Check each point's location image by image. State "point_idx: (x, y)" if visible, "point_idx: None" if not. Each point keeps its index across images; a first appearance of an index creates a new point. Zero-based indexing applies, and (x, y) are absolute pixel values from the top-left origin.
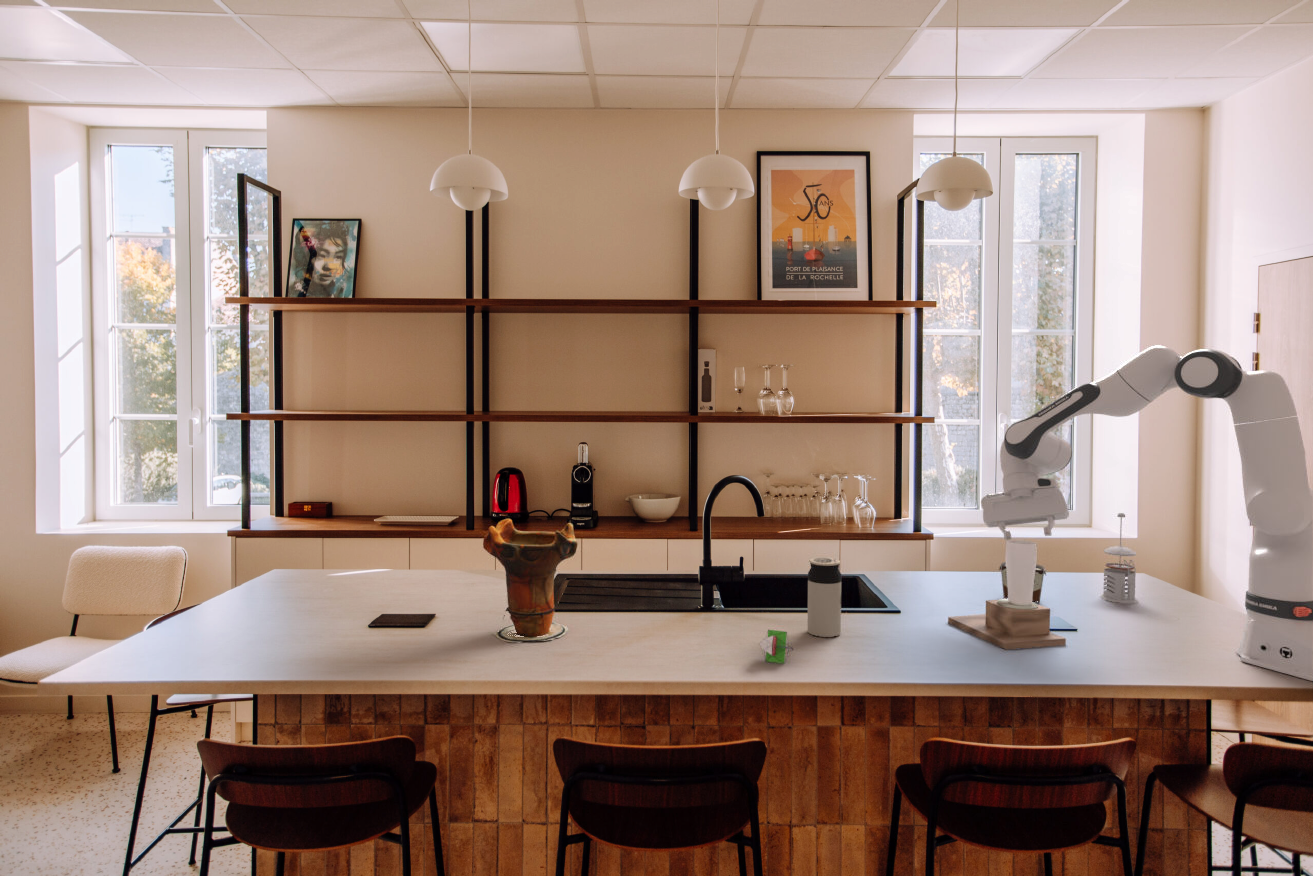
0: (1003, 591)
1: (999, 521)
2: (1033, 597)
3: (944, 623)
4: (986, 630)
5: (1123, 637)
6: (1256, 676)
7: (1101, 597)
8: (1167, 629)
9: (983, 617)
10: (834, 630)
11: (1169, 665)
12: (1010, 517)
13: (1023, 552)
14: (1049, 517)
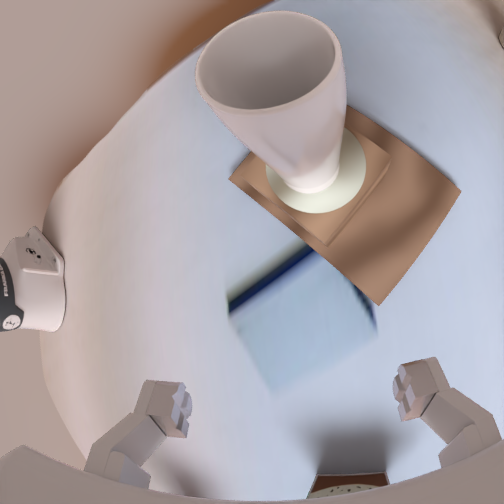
0: (387, 479)
1: (497, 443)
2: (327, 480)
3: (459, 186)
4: (367, 135)
5: (159, 300)
6: (61, 212)
7: None
8: (122, 383)
9: (405, 235)
10: (501, 33)
11: (114, 185)
12: (430, 488)
13: (252, 39)
14: (105, 470)
